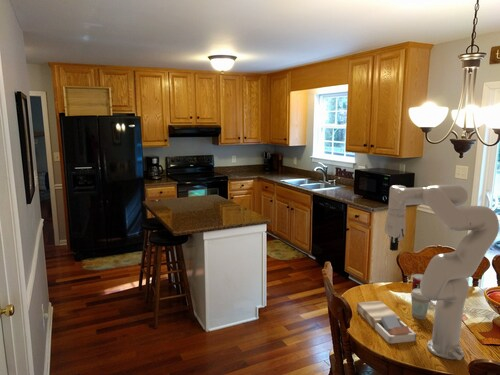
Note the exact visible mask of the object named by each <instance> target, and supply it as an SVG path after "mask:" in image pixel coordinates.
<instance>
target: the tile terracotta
mask: <svg viewBox="0 0 500 375" xmlns="http://www.w3.org/2000/svg"><path fill="white" fill-rule="evenodd" d="M408 327H409V326H408V325H407V326H403V327H394V328H393V329H391V330H389V331H388V333H389V334H390V335H398V334H408V333H410V331H409V328H410V327H409V328H408Z"/></svg>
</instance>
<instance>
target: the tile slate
mask: <svg viewBox="0 0 500 375" xmlns="http://www.w3.org/2000/svg"><path fill="white" fill-rule="evenodd" d="M381 322H382V324H383V326H384V329H385V330H386V331H387V332H388V331H389V330H391V329H393V328H394V327H401V325H400V324H399V322H398V320H397V318H396V316H384V317H382V318H381Z"/></svg>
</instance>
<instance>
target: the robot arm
mask: <svg viewBox="0 0 500 375" xmlns="http://www.w3.org/2000/svg"><path fill="white" fill-rule="evenodd" d="M468 198H469V194H468V191H467V189H466V188H464V186H461V185H458V184H436V185H428V186H427V187H424V186H423V187H406V186H405V185H401V184H399V185H398V184H395V185H391V186H390V187H389V194H388V209H387V211H388V212H387V215H386V218H385V226H384V233H385V234H387V236H388V237H389V244H390V246H389V250H391V251H392V252H393V251H394V252H395V251H398V250H399V243H400V242H403V240H404V239H403V238H404V237H405V235H406V210H407V206H413V205H426V206H428V207H429V208H430V209H431V211H432V212H433V213H434V215H435V216H436V218H438V219H439V220H440V222H441V223H442V224H443V225H444V227H445V228H447V229H448V230H449V231H454V232H463V231H470V232H469V233H467V234H466V235H465V236H463V238H462V239H461V240H460V242H459V244H458V245H457V248H456V249H455V250H454V251H451V252H445V253H439V254H435V255H434V256H433V257H432V258H431V259H430V261H429V263H428V265H427V267H426V269H425V271H424V273H423V277H422V279H421V282H420V291H421V293H422V295H423V296H424V297H425V298H426V299H428V300H430V301H431V302H436V303H435V305H434V306H435V307H434V314H433V324H432V336H431V339H429V340H428V341H427V343H426V347H427V349H428V351H429V352H430V353H431V354H433V355H435V356H437V357H440V358H442V359H445V360H453V361H454V360H457V361H461V360H462V359H463V358H465V355H466V354H465V353H464V351H463V349H462V345H460V343H461V342H460V341H461V340H460V339H461V333H462V324H463V315H464V307H465V303H466V300H467V297H468V296H469V295H468V294H469V290H470V286H469V282H468V278H471V277H472V276H473V275H474V274H475V273H476V271H477V269H478V267H479V266H480V264H481V262H482V261H483V259H484V257H485V255H486V253H487V252H488V250H490V248H491V247H492V245H493V244H494V242H495V241H496V239H497V237H498V234H499V230H500V223H499V219H498V216H497V214H496V212H495V211H494V210H493V209H492V208H490V207H488V206H483V205H465V206H464V204H465V203H467V201H468Z"/></svg>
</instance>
